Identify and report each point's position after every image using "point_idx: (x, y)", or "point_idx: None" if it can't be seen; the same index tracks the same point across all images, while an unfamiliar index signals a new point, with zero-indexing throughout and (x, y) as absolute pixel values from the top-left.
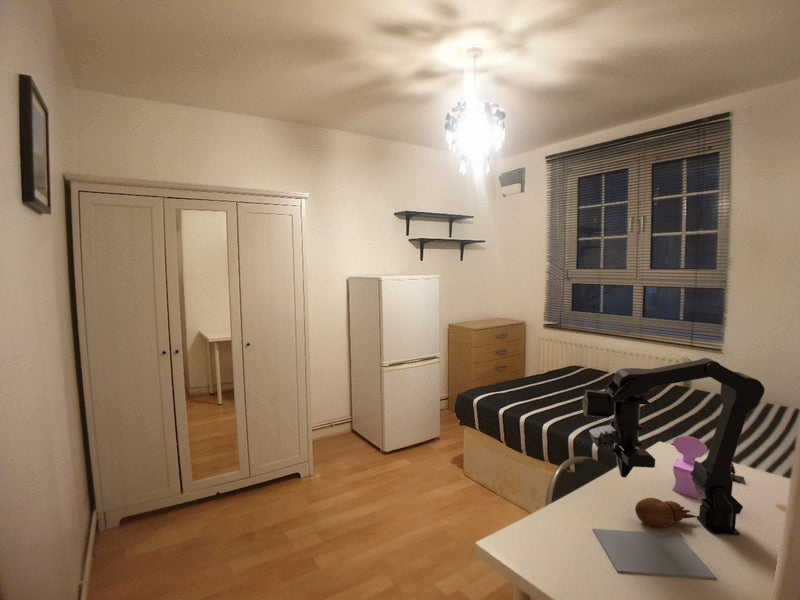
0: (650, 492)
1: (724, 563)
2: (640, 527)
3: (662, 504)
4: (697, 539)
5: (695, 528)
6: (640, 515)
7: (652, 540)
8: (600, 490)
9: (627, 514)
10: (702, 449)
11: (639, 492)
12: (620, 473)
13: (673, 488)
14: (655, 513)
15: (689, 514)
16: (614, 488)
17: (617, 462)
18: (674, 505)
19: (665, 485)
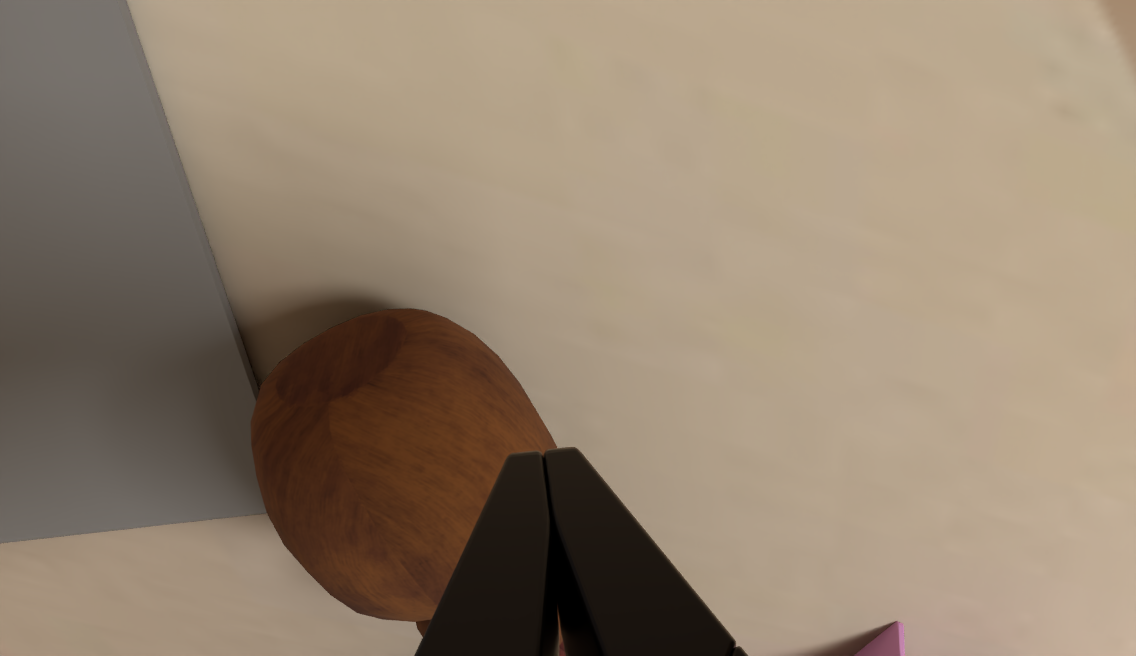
0: (884, 503)
1: (59, 634)
2: (319, 277)
3: (387, 599)
4: (293, 587)
5: None
6: (349, 339)
7: (85, 310)
8: (978, 96)
9: (525, 230)
10: None
11: (893, 434)
12: (565, 475)
13: (896, 641)
14: (262, 490)
15: None
16: (989, 256)
17: (718, 638)
18: None
19: (960, 605)
